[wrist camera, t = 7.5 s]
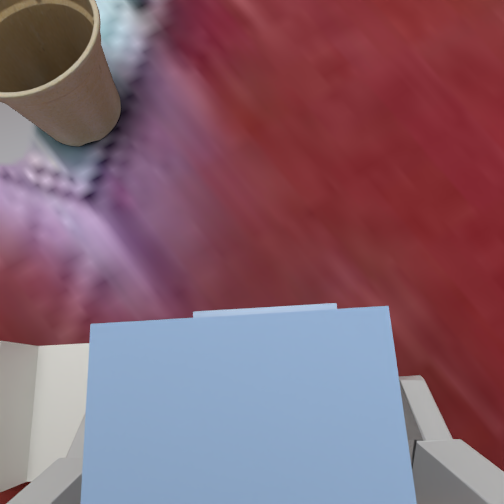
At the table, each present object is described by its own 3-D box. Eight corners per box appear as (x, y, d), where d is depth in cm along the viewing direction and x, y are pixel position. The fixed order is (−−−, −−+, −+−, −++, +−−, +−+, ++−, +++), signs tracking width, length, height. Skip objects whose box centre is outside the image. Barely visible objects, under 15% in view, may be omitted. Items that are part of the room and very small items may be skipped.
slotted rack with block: (-6, 480, 27) (-83, 507, 21) (9, 337, 29) (-56, 326, 24) (367, 463, 26) (393, 488, 20) (350, 317, 28) (369, 301, 23)
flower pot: (134, 168, 32) (84, 96, 24) (14, 166, 33) (-74, 95, 25) (149, 64, 35) (109, -33, 27) (37, 64, 36) (-35, -31, 27)
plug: (210, 483, 14) (69, 692, 5) (208, 359, 15) (90, 324, 6) (332, 478, 14) (442, 684, 5) (320, 353, 15) (388, 305, 6)
